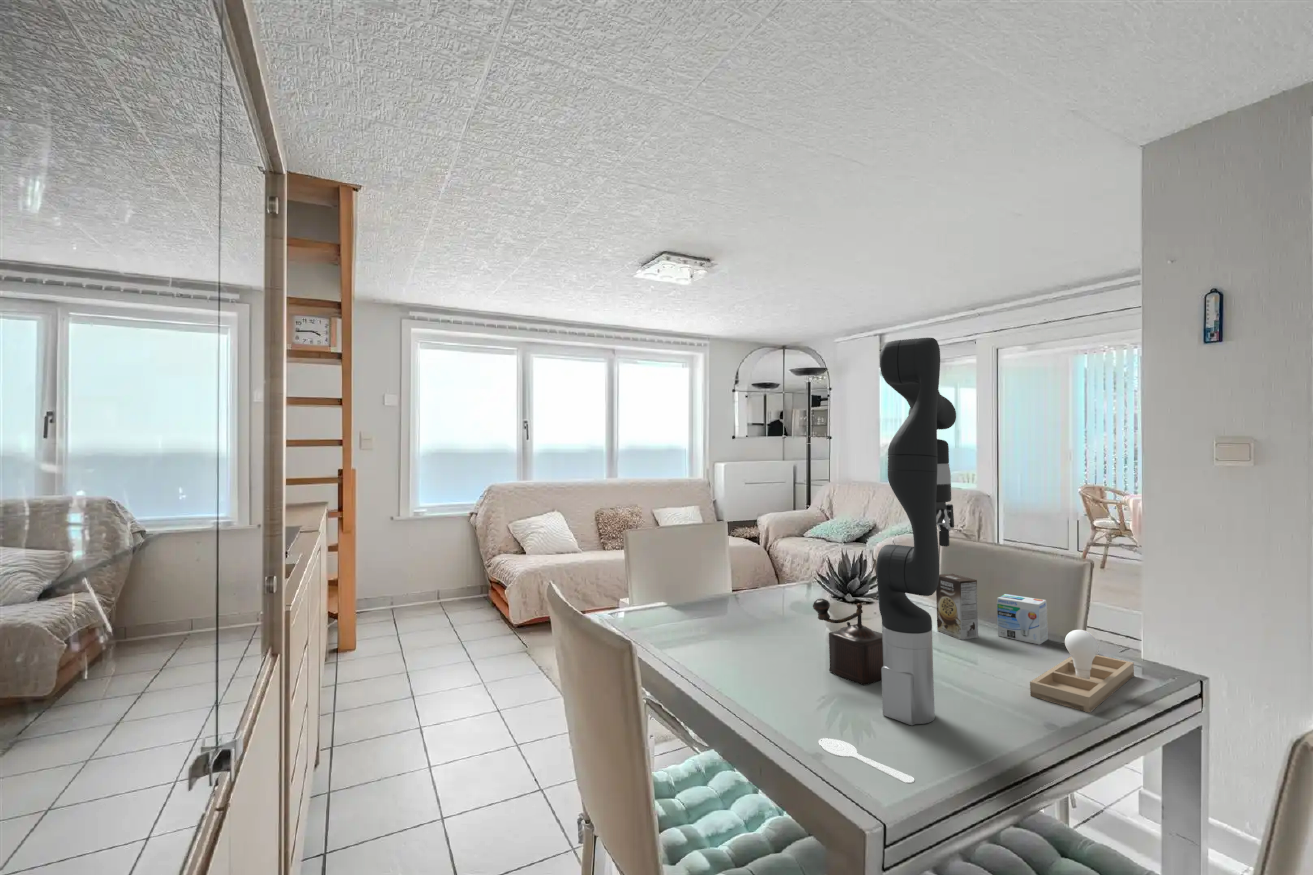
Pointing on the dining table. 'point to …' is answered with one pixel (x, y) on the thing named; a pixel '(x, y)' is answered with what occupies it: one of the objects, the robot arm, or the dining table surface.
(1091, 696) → the wooden compartment tray
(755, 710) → the dining table surface
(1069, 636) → the lightbulb
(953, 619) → the cookie box
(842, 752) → the spoon
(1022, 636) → the light bulb box
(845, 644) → the manual coffee grinder
